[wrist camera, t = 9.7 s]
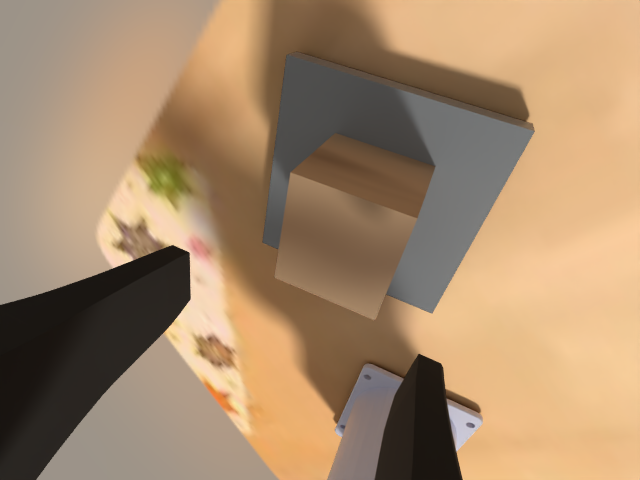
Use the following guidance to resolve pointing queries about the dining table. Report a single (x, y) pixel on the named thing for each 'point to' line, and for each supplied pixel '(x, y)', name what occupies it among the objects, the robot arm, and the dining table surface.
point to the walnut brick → (350, 221)
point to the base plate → (408, 140)
